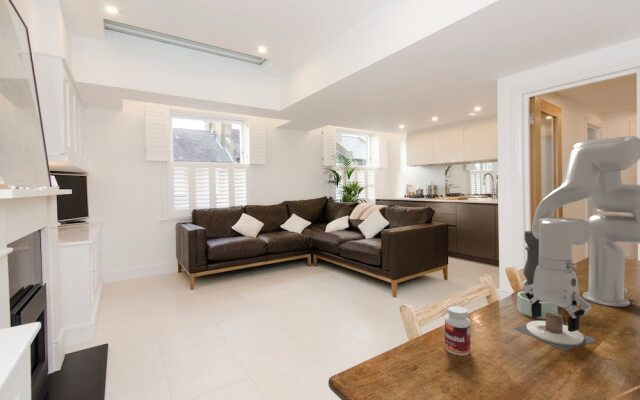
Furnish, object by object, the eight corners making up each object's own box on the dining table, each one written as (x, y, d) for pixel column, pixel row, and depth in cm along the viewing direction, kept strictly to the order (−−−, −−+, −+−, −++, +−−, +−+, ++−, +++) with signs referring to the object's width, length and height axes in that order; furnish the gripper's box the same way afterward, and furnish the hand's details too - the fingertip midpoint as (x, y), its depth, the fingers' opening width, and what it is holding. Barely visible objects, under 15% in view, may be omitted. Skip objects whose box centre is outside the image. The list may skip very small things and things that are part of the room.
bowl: (531, 304, 112) (531, 289, 112) (565, 316, 102) (565, 299, 101) (509, 309, 108) (510, 294, 107) (543, 322, 98) (543, 305, 97)
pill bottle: (441, 351, 82) (441, 310, 82) (449, 342, 87) (449, 303, 86) (466, 359, 78) (466, 316, 78) (473, 349, 83) (473, 308, 82)
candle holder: (546, 300, 115) (547, 233, 114) (527, 300, 116) (528, 233, 115) (538, 295, 121) (538, 230, 120) (520, 294, 122) (520, 230, 121)
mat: (544, 321, 99) (544, 319, 99) (597, 341, 86) (597, 339, 86) (513, 329, 93) (513, 328, 93) (565, 352, 80) (565, 350, 80)
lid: (545, 320, 98) (545, 303, 98) (594, 339, 86) (594, 320, 86) (516, 328, 93) (516, 310, 93) (564, 349, 81) (564, 329, 81)
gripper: (599, 269, 82) (598, 334, 83) (532, 256, 98) (532, 310, 99) (581, 273, 79) (580, 339, 80) (516, 258, 95) (515, 314, 96)
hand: (553, 323), depth 89 cm, fingers open, 9 cm apart
